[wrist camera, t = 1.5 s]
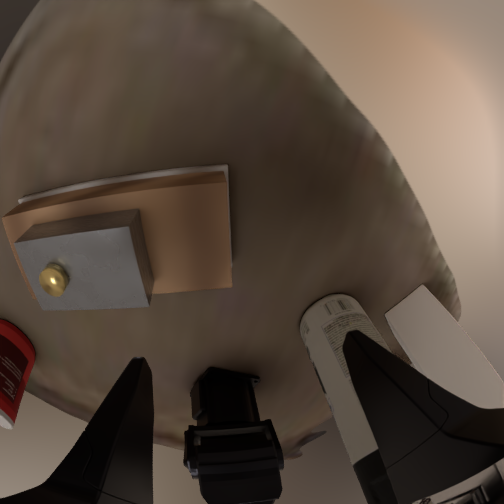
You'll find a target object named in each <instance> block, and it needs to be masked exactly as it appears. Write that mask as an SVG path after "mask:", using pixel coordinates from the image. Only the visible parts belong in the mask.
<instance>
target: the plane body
mask: <svg viewBox="0 0 504 504" xmlns="http://www.w3.org/2000/svg"><path fill="white" fill-rule="evenodd" d="M136 208H139V209H140V215H141V220H142V226H143V231H144V236H145V241H146V246H147V250H148V255H149V259H150V264H151V268H152V272H153V277H154V281H155V282H154V287H153V291H152V294H158V293H171V292H184V291H196V290H207V289H218V288H229V287H232V275H231V267H232V249H231V229H230V207H229V181H228V165H227V164H221V165H207V166H195V167H185V168H175V169H166V170H158V171H150V172H142V173H135V174H129V175H122V176H116V177H110V178H104V179H99V180H94V181H88V182H83V183H78V184H74V185H69V186H65V187H60V188H56V189H52V190H47V191H43V192H39V193H36V194H32V195H28V196H24V197H22V198H20V199H19V205H18V206H16V207H15V208H14V209H12V210H11V211H10V212H9V213H7V214H6V215H5V216H3V217H2V220H3V224H4V227H5V230H6V233H7V236H8V239H9V242H10V245H11V248H12V251H13V253H14V256H15V258H16V261H17V264H18V266H19V268H20V271H21V273H22V275H23V278H24V280H25V282H26V284H27V287H28V289H29V291H30V293H31V295H32V297H33V299H37V298H36V296H35V294H34V292H33V289H32V287H31V285H30V283H29V281H28V278H27V276H26V274H25V271H24V269H23V267H22V264H21V262H20V259H19V256H18V254H17V251H16V248H15V246H14V242H15V241H16V240H17V239H18V238H19V237H20V236H22V235H23V234H24V233H25V232H26V231H27V230H28V229H29V228H30V227H31V226H32V225H35V224H41V223H46V222H51V221H57V220H62V219H68V218H74V217H80V216H87V215H93V214H100V213H107V212H114V211H121V210H129V209H136Z"/></svg>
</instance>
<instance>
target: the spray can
mask: <svg viewBox="0 0 504 504" xmlns="http://www.w3.org/2000/svg"><path fill="white" fill-rule="evenodd" d="M352 330H360V331H361V332H362V333H364V334H365V335H367V336H368V337H370V338H371V339H373V340H374V341H375V342H377V343H378V344H380V345H381V346H383V347H384V348H386V349H387V350H388V351H390V352H391V350H390V349H389V347H388V346H387V344H386V343H385V341H384V340H383V338H382V337H381V335H380V334H379V332H378V331H377V329H376V328H375V326H374V325H373V323H372V322H371V320H370V319H369V317H368V316H367V314H366V313H365V311H364V310H363V309H362V307H361V306H360V304H359V303H358V302H357V301H356V300H355V299H354V298H352V297H351V296H348V295H344V294H334V295H328V296H326V297H324V298H323V299H321V300H319V301H317V302H316V303H314V304H313V305H312V306H311V307H310V308H308V309H307V310H306V312H305V314H304V315H303V317H302V319H301V323H300V333H301V337H302V340H303V342H304V344H305V347H306V349H307V352H308V354H309V358H310V360H311V361H312V364H313V366H314V369H315V371H316V374H317V376H318V379H319V381H320V384H321V386H322V389H323V391H324V394H325V396H326V399H327V401H328V404H329V406H330V409H331V411H332V414H333V417H334V419H335V422H336V424H337V426H338V429H339V432H340V434H341V437H342V440H343V442H344V444H345V447H346V450H347V453H348V455H349V458H350V461H351V463H352V465H353V468H354V471H355V473H356V475H357V478H358V480H359V482H360V485H361V487H362V490H363V493H364V495H365V497H366V500H367V503H368V504H398V501H397V498H396V495H395V493H394V490H393V487H392V484H391V481H390V479H389V476H388V473H387V470H386V467H385V465H384V462H383V459H382V457H381V454H380V451H379V449H378V446H377V443H376V441H375V438H374V436H373V433H372V431H371V428H370V426H369V423H368V421H367V418H366V416H365V413H364V411H363V408H362V406H361V404H360V401H359V399H358V396H357V394H356V392H355V389H354V387H353V384H352V381H351V377H350V374H349V370H348V367H347V364H346V360H345V357H344V354H343V350H342V346H343V343H344V340H345V336H346V334H347V332H348V331H352ZM391 353H392V352H391ZM413 503H414V502H413ZM410 504H412V503H410Z"/></svg>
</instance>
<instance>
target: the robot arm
mask: <svg viewBox="0 0 504 504" xmlns="http://www.w3.org/2000/svg"><path fill="white" fill-rule="evenodd" d="M342 350H343V354H344V357H345V360H346V364H347V367H348V370H349V374H350V377H351V381H352V384H353V387H354V389H355V392H356V394H357V396H358V399H359V401H360V404H361V406H362V408H363V411H364V413H365V416H366V418H367V421H368V423H369V426H370V428H371V431H372V433H373V436H374V438H375V441H376V443H377V446H378V449H379V451H380V454H381V457H382V459H383V462H384V465H385V467H386V470H387V473H388V476H389V479H390V481H391V484H392V487H393V490H394V493H395V495H396V498H397V501H398V504H410V503H413V502H416V501H418V500H421V499H424V498H427V497H429V496H430V498H431V501H432V503H433V504H504V408H494V409H486V408H480V407H477V406H475V405H473V404H471V403H469V402H467V401H466V400H464V399H462V398H460V397H458V396H456V395H454V394H453V393H451V392H449V391H447V390H446V389H444V388H442V387H441V386H439V385H438V384H436V383H435V382H433V381H432V380H430V379H429V378H428V379H427V377H426V376H425V375H423V374H422V373H420V372H419V371H417V370H416V369H414V368H413V367H411V366H410V365H409V364H407V363H406V362H404V361H403V360H401V359H400V358H399V357H397V356H396V355H394V354H393V353H391V352H390V351H388V350H387V349H386V348H384V347H383V346H381V345H380V344H378V343H377V342H375V341H374V340H373V339H371V338H370V337H368V336H367V335H365V334H364V333H362V332H361V331H360V330H352V331H348V332H347V334H346V336H345V340H344V343H343V346H342ZM259 382H260V378H259V377H257V376H251V375H245V374H240V373H235V372H230V371H225V370H220V369H215V368H209V369H208V370H207V371H206V372H205V374H204V375H203V376H202V378H201V379H200V380H198V381H197V383H196V384H195V386H194V387H193V388H192V390H191V392H190V397H191V401H192V418H193V419H194V420H197V426H194V425H189V429H188V430H187V431H184V435H185V449H184V460H183V463H184V466H185V467H187V468H188V469H189V471H190V473H191V475H192V478H193V479H199V485H200V491H201V495H202V496H203V498H204V499H205V500H206V502H207V503H208V504H273V503H274V501H275V500H276V499H279V497H280V495H281V492H282V485H281V477H280V471H282V470H283V468H284V459H283V453H282V449H281V446H280V443H279V440H278V438H277V435H276V432H275V430H274V427H273V424H272V421H271V419H267V420H265V421H260V417H259V412H258V407H257V403H256V398H255V393H254V387H255V386H256V385H257V384H258V383H259ZM153 425H154V405H153V385H152V372H151V369H150V367H149V365H148V363H147V361H146V359H145V358H144V357H134V358H132V360H131V361H130V362H129V364H128V365H127V367H126V368H125V370H124V371H123V372H122V374H121V375H120V377H119V378H118V380H117V381H116V383H115V384H114V386H113V387H112V389H111V390H110V392H109V393H108V395H107V396H106V398H105V399H104V401H103V402H102V404H101V405H100V407H99V408H98V410H97V411H96V413H95V414H94V416H93V417H92V419H91V420H90V422H89V423H88V425H87V427H86V428H85V431H83V433H82V434H81V436H80V437H79V439H78V440H77V442H76V443H75V445H74V446H73V448H72V449H71V451H70V452H69V453H68V455H67V456H66V457H65V458H64V460H63V461H62V462H61V463H60V465H59V466H58V467H57V468H56V469H55V471H54V472H53V473H52V474H51V476H50V477H49V478H48V479H47V480H46V481H45V482H44V483H42V484H41V485H39V486H37V487H34V488H32V489H29V490H26V491H24V492H21V493H18V494H15V495H12V496H8V497H5V498H0V504H153V476H152V475H153V471H152V470H153V466H152V464H153V463H152V462H153ZM199 444H201V445H199Z"/></svg>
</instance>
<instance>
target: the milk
mask: <svg viewBox="0 0 504 504" xmlns="http://www.w3.org/2000/svg"><path fill="white" fill-rule="evenodd" d="M384 315H385V317H386V319H387V321H388V324H389V326H390V328H391V330H392V332H393V334H394V336H395V338H396V339H397V341H398V342H399V344H400V345H401V346H402V348H403V349H404V351H405V352H406V354H407V355H408V357H409V358H410V360H411V362H412V363H413V365H414V366H415V368H416V369H417V371H419V372H420V373H422V374H423V375H425V376H426V377H427V379H428V378H429V379H430V380H432V381H433V382H435V383H436V384H438V385H439V386H441V387H442V388H444V389H446V390H447V391H449V392H451V393H453V394H454V395H456V396H458V397H460V398H462V399H464V400H466V401H467V402H469V403H471V404H473V405H475V406H477V407H480V408H486V409H494V408H504V382H503V380H502V379H501V377H500V376H499V375H498V373H497V372H496V370H495V369H494V368H493V366H492V365H491V363H490V362H489V361H488V359H487V358H486V357H485V356H484V354H483V353H482V352H481V350H480V349H479V348H478V347H477V345H476V344H475V343H474V341H473V340H472V339H471V338H470V337H469V335H468V334H467V333H466V332H465V331H464V329H463V328H462V327H461V326H460V325H459V323H458V322H457V321H456V320H455V319H454V318H453V316H452V315H451V314H450V313H449V312H448V311H447V310H446V309H445V307H444V306H443V305H442V304H441V303H440V302H439V301H438V300H437V299H436V298H435V297H434V295H433V294H432V293H431V292H430V291H429V290H428V289H427V288H426V287H425V286H424V285H423V284H422V285H420V286H419V287H418V288H417V289H416V290H414V291H413V292H412V293H411V294H410V295H408V296H407V297H406V298H405V299H403V300H402V301H401V302H400V303H398V304H397V305H396V306H394V307H393V308H392V309H391V310H389V311H388V312H387V313H385V314H384Z"/></svg>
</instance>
